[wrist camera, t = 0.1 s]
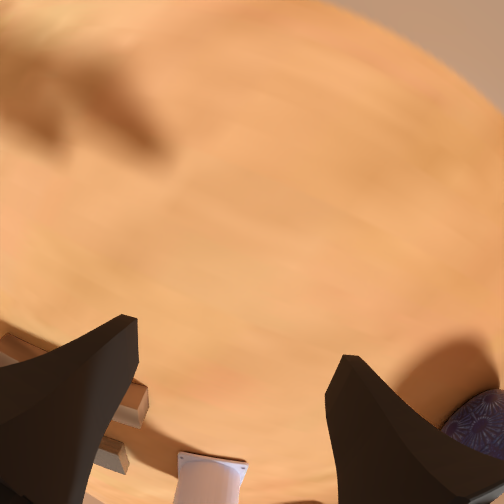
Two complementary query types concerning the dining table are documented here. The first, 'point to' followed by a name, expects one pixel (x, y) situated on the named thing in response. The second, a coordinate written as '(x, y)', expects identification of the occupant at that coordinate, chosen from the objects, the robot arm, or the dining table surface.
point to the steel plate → (112, 455)
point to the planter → (480, 423)
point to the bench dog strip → (19, 350)
